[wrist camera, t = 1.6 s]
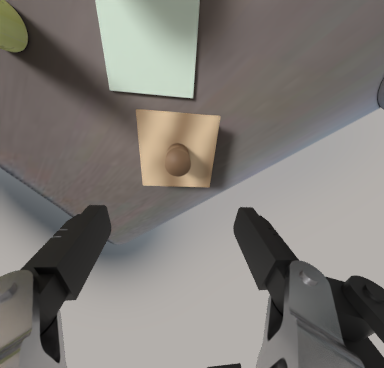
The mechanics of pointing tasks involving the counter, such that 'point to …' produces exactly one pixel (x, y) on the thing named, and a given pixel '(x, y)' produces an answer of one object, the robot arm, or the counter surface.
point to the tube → (11, 29)
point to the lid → (176, 147)
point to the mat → (150, 45)
